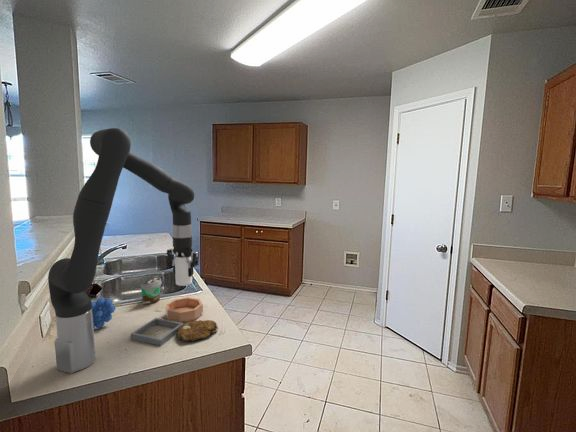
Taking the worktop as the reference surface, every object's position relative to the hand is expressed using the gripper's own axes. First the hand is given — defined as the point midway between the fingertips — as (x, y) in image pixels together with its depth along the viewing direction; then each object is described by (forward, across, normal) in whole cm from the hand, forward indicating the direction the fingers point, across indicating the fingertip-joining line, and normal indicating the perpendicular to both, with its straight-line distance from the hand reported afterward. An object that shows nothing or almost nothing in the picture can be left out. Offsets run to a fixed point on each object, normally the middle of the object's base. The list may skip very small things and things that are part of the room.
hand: (183, 275), depth 129 cm
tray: (+17, 0, -16) cm, 24 cm away
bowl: (+17, 0, 0) cm, 17 cm away
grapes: (+18, -24, -20) cm, 36 cm away
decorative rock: (+18, +14, -11) cm, 25 cm away
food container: (+18, -21, +7) cm, 28 cm away
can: (+4, 0, 0) cm, 4 cm away
